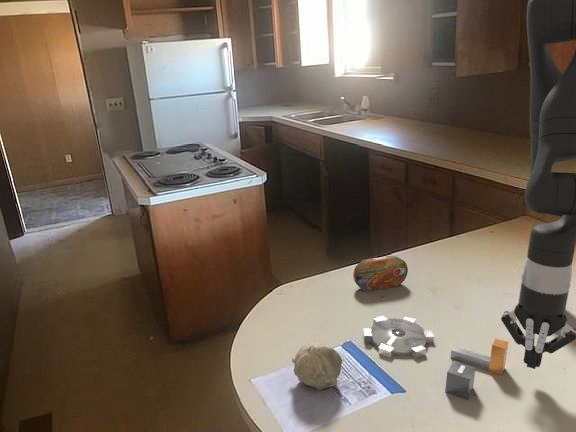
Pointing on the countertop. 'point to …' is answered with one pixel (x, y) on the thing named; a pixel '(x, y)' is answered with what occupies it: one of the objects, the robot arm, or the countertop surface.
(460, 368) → the grey cube with slot
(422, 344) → the sprocket
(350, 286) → the countertop surface
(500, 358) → the drive pin
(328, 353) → the garlic bulb
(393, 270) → the tin
